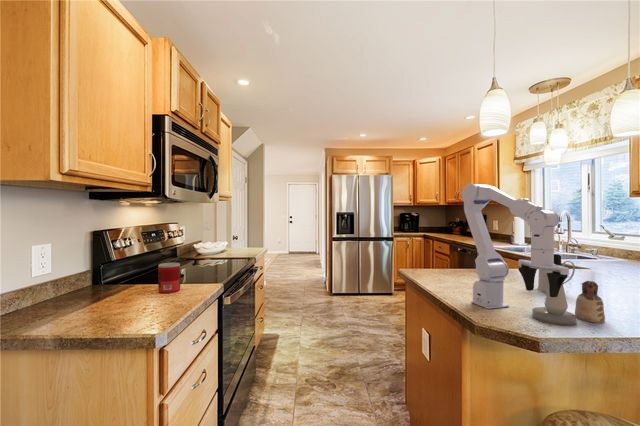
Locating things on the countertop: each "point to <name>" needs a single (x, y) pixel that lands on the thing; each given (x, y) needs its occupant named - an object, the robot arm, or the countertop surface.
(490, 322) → the countertop surface
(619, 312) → the countertop surface
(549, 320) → the coaster
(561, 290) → the salt shaker
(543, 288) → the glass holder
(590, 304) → the figurine
